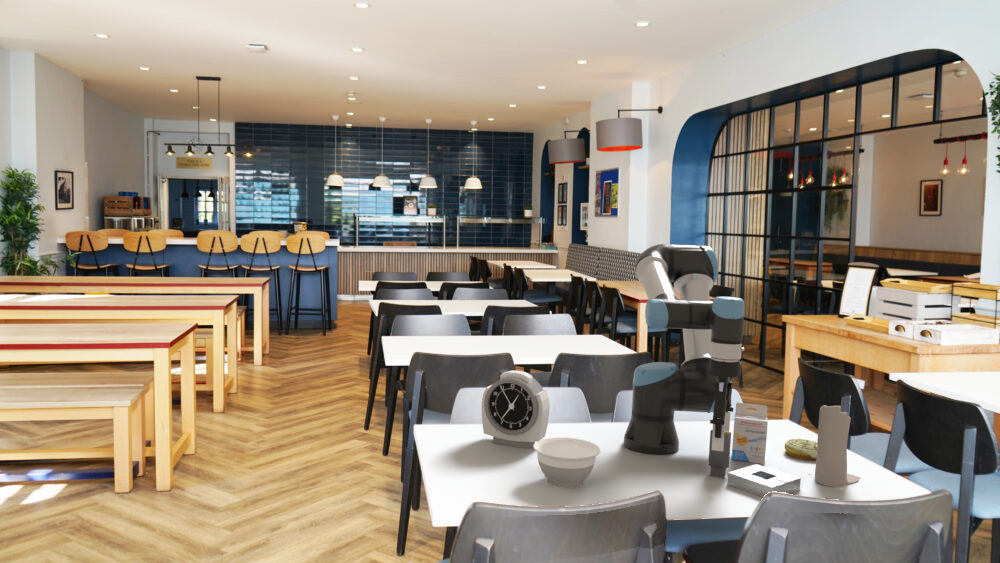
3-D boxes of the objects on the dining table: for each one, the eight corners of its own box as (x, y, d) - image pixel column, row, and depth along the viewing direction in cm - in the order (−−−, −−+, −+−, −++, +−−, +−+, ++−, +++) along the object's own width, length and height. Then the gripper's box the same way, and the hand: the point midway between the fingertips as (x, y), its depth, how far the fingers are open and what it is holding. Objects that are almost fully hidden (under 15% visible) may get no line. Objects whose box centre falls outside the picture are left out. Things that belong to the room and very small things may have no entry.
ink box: (731, 460, 204) (735, 406, 203) (731, 454, 209) (735, 402, 208) (765, 464, 202) (768, 409, 200) (764, 458, 206) (768, 405, 205)
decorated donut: (820, 464, 204) (822, 451, 203) (779, 456, 210) (780, 442, 210) (829, 455, 212) (830, 442, 212) (789, 447, 218) (790, 434, 218)
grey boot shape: (867, 479, 192) (873, 401, 191) (834, 488, 185) (840, 407, 183) (841, 471, 198) (847, 395, 197) (808, 479, 191) (814, 401, 189)
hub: (727, 484, 185) (727, 471, 185) (755, 475, 192) (756, 463, 192) (771, 500, 176) (772, 486, 175) (799, 490, 183) (800, 477, 183)
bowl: (550, 497, 172) (552, 460, 172) (521, 474, 187) (522, 440, 186) (611, 489, 179) (613, 454, 178) (577, 468, 193) (579, 435, 193)
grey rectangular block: (706, 476, 190) (709, 431, 189) (709, 470, 195) (711, 426, 194) (727, 479, 189) (730, 434, 188) (729, 473, 193) (732, 429, 192)
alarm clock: (478, 442, 212) (480, 370, 210) (490, 434, 220) (492, 365, 218) (539, 452, 205) (542, 378, 203) (549, 443, 213) (552, 372, 211)
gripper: (736, 368, 176) (731, 458, 178) (745, 353, 199) (740, 433, 201) (703, 365, 179) (698, 454, 181) (715, 350, 202) (711, 429, 204)
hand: (720, 443), depth 191 cm, fingers open, 13 cm apart
